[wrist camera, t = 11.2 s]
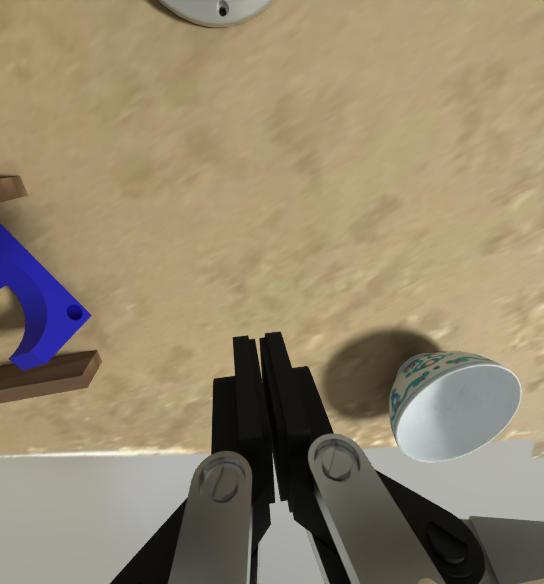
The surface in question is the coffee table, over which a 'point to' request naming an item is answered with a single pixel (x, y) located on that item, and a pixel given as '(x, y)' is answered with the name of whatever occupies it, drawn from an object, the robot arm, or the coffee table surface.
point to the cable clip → (38, 304)
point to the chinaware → (450, 404)
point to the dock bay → (58, 370)
